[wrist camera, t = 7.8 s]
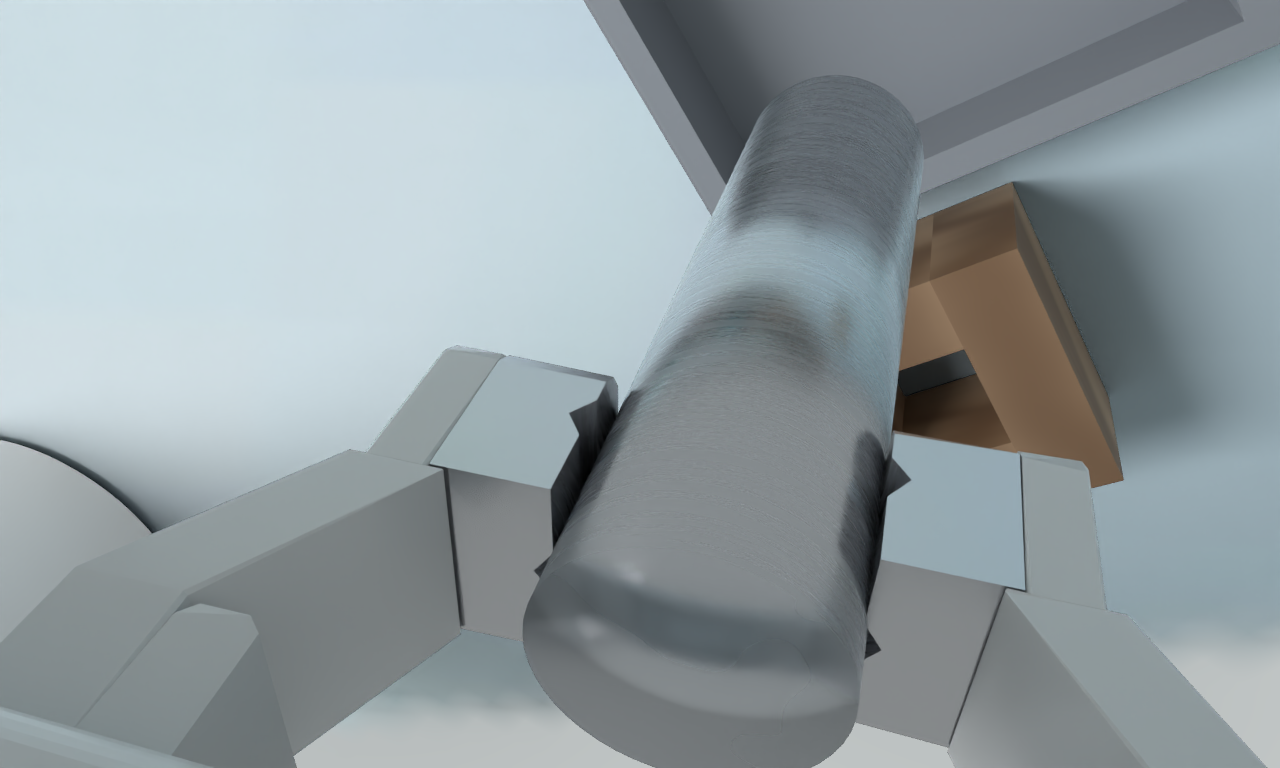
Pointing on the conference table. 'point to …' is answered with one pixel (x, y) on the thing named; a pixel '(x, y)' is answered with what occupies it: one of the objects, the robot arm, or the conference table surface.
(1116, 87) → the gray tray
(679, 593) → the pin
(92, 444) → the conference table surface
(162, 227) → the conference table surface
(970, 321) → the block
